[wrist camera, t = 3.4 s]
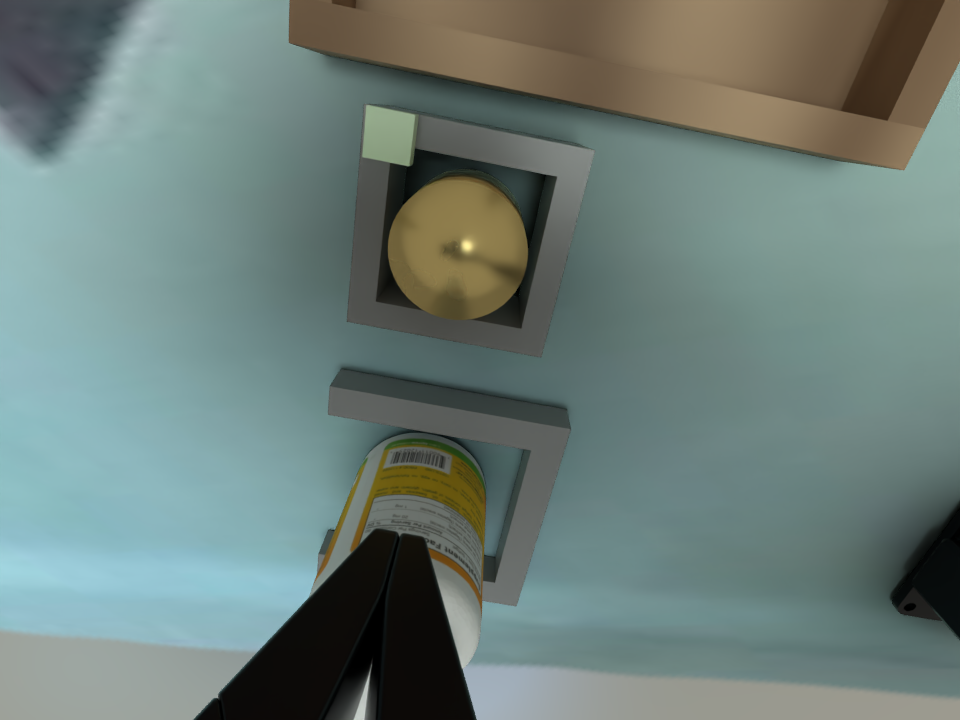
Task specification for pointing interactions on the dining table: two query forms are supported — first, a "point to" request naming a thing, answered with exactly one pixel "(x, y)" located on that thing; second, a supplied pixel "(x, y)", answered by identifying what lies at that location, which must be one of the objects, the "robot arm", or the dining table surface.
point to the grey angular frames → (506, 328)
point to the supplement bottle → (422, 522)
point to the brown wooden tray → (679, 61)
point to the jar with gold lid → (459, 245)
